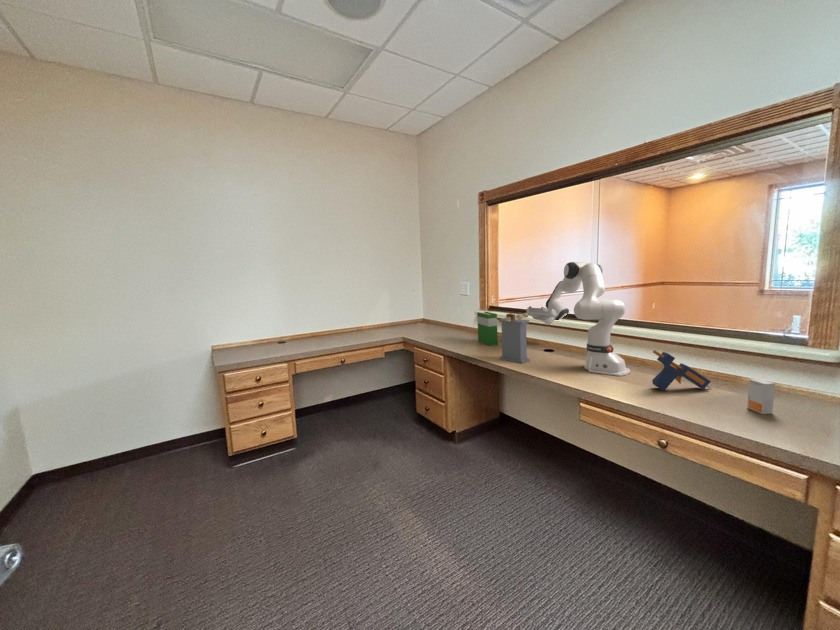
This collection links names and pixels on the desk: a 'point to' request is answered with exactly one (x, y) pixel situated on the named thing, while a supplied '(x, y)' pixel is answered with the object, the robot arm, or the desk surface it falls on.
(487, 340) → the green white box
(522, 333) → the stand
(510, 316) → the marking gauge
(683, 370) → the glue gun
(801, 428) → the desk surface
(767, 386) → the skincare box
